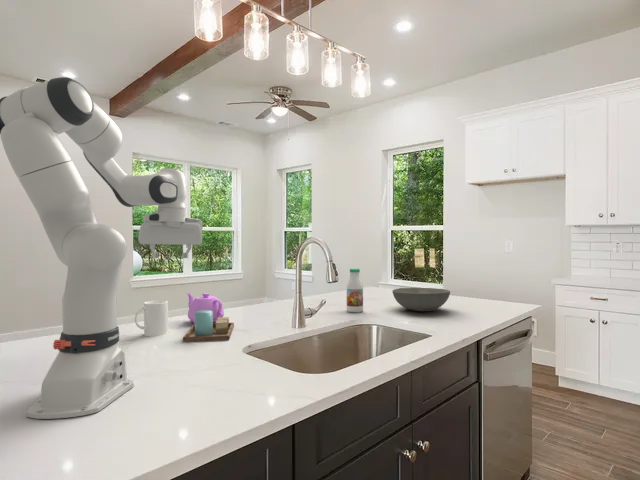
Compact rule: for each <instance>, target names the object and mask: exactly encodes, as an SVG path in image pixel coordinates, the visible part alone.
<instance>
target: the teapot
mask: <svg viewBox="0 0 640 480" xmlns="http://www.w3.org/2000/svg"><path fill="white" fill-rule="evenodd" d="M185 292H186V294H187V296H188V311H187V318H188V320H189V321H190V322H191V323H192V324H195V311H199V310H212V311H213V323H216V321H217V320H218V318H219V317H225V311H224V307H223V301H222V300H221V299H219V298H218V297H217V296H214V295H210V294H211V293H210V292H203V293H202V296H196V297H195V298H194V295H193V294H192V293H191V292H188V291H185Z"/></svg>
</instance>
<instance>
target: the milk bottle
mask: <svg viewBox="0 0 640 480" xmlns="http://www.w3.org/2000/svg"><path fill="white" fill-rule="evenodd" d="M349 274H350V275H349V277H348V280H347V283H346V311H347V312H349V313H362V312H363V311H364V287H363V286H364V285H363V282H362V280H361V277H360V268H356V267H353V268H352V267H350V268H349Z"/></svg>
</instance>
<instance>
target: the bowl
mask: <svg viewBox="0 0 640 480" xmlns="http://www.w3.org/2000/svg"><path fill="white" fill-rule="evenodd" d="M392 295H393V297H394V299H395V301H396V303H398V304H399V305H400V306H401V307H403V308H405V309H407V310H410V311H414V312H431V311H434V310H437V309H440V308H441V307H442V306H444V304H446V302H447V301H448V299H449V298H450V295H451V291H450V290H449V289H445V288H437V287H399V288H395V289H392Z"/></svg>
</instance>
